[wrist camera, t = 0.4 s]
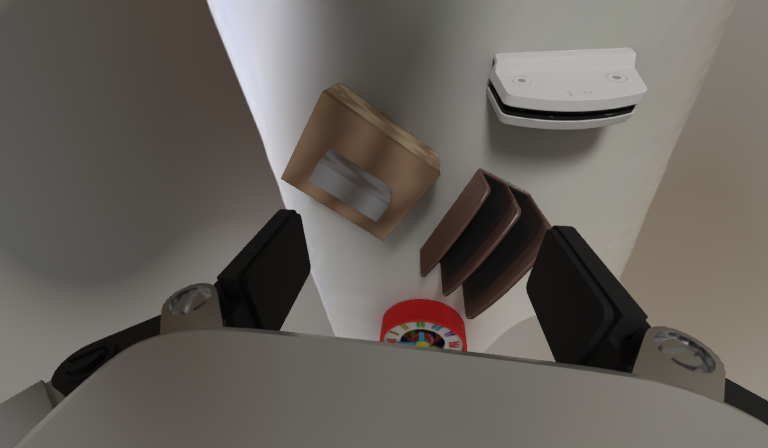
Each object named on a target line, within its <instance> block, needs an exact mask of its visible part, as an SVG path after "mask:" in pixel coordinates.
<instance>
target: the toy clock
mask: <svg viewBox="0 0 768 448" xmlns="http://www.w3.org/2000/svg"><path fill="white" fill-rule="evenodd" d="M380 342H388V343H397V344H406V345H415V346H423V347H432V348H441V349H450V350H459V351H467V342H466V335H465V327H464V322H463V320H462V318H461V316H460V315H459V314H458V313H457V312H456V311H455V310H454V309H452V308H451V307H449V306H447V305H445V304H443V303H440V302H437V301H432V300H425V299H414V300H408V301H403V302H400V303H398V304H396V305H394V306H392V307H391V308H390V309H389V310H388V311H387V312H386V313H385V315H384V317H383V321H382V328H381V335H380Z"/></svg>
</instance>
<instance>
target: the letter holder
mask: <svg viewBox="0 0 768 448" xmlns="http://www.w3.org/2000/svg"><path fill="white" fill-rule="evenodd" d="M551 228H552V227H551V225H550V224H549V222H548V221H547V219H546V218H545V216H544V215H543V214H542V212H541V211H540V209H539V208H538V206H537V205H536V203H535V202H534V200H533V198H532V197H531V195H530V194H529V193H527V192H525V191H523V190H521V189H519V188H517V187H516V186H513V185H512V184H510V183H508V182H506V181H504V180H502V179H500V178H498V177H496V176H494V175H492V174H490V173H488V172H486V171H484V170H482V169H478V171H477V172H476V174H475V175H474V176H473V178H472V179H471V181H470V182H469V183H468V185H467V186H466V187H465V189H464V190H463V192H462V193H461V194H460V196H459V197H458V199H457V200H456V201H455V203H454V204H453V206H452V207H451V208H450V210H449V211H448V212H447V214H446V215H445V216H444V218H443V219H442V221H441V222H440V223H439V225H438V226H437V228H436V229H435V230H434V232H433V233H432V235H431V236H430V237H429V239H428V240H427V242H426V243H425V245H424V246H423V247H422V249H421V250H420V267H421V276H422V277H425V276H426V275H427V274H428V273H429V272H430V271H431V270H432V269H433V268H434V267H435V266H436V265H437V263H438V262H440V264H441V276H442V292H443V296H445V297H446V296H448V295H450V294H451V293H452V292H453V291H455V290H456V289H457V288H458V287H459V286H460V285H461V284H462V287H463V296H464V306H465V314H466V317H467V319H473V318H475V317H476V316H478V315H479V314H481V313H482V312H483V311H485V310H486V309H487V308H489V307H490V306H491V305H493V304H494V303H495V302H496V301H497V300H499V299H500V298H501V297H502V296H503V295H504V294H505V293H507V292H508V291H509V290H510V289H511V288H512V287H513V286H514V285H515V284H516V283H517V282H518V281H519V280H520V279H521V278H522V277H523V276H524V275H525V274H526V273H527V272H528V271H529V270H530V269H531V268H532V267H533V265H534V262H535V260H536V257H537V254H538V251H539V249H540V246H541V243H542V240H543V238H544V235H545V232H546V231H547V230H548V229H551Z"/></svg>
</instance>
